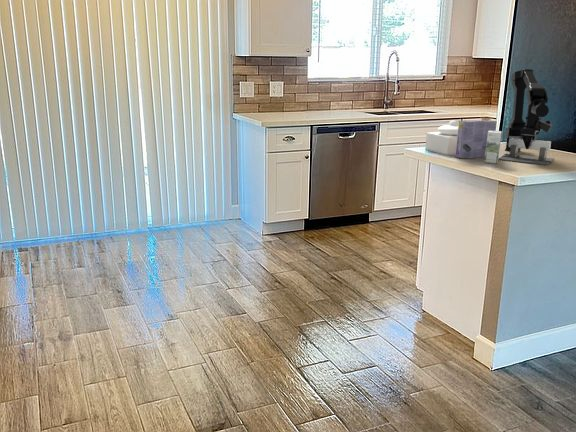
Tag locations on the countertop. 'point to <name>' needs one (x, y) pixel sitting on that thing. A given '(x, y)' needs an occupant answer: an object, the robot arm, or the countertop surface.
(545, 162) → the mat
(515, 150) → the hook posts
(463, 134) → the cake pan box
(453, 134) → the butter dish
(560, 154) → the countertop surface
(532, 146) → the steel bar
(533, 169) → the countertop surface
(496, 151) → the syrup box
